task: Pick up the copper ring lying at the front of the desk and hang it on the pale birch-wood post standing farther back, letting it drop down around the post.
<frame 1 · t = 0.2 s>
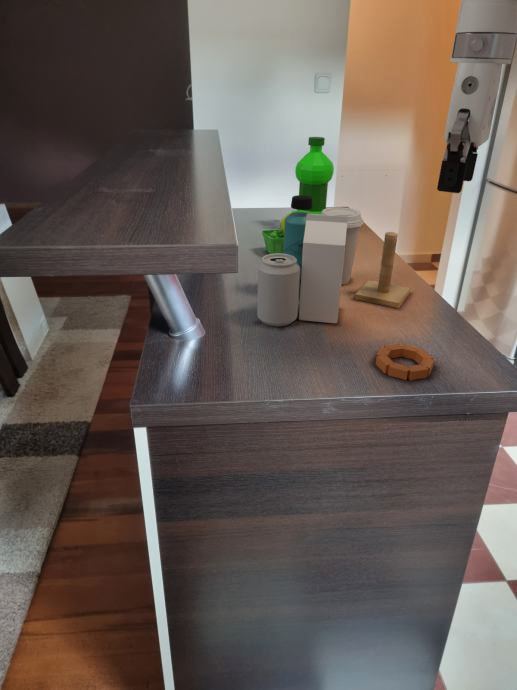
hand: (455, 185, 75), 27 cm above the worktop, tool pointing down, fingers open, 9 cm apart
coffee cup: (334, 280, 114), on the worktop
plastic bottle: (310, 231, 148), on the worktop
beverage bottle: (296, 294, 107), on the worktop
post: (382, 296, 106), on the worktop
can: (277, 320, 96), on the worktop
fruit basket: (287, 253, 130), on the worktop
milk carton: (319, 315, 98), on the worktop
ring: (403, 365, 82), on the worktop
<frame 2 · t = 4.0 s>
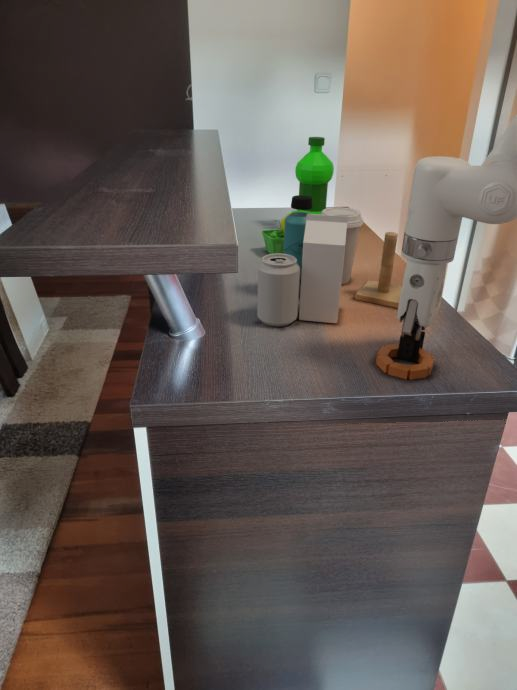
hand: (409, 354, 84), 0 cm above the worktop, tool pointing down, fingers closed on ring, 2 cm apart
ring: (404, 365, 82), on the worktop, touching gripper
everything else where it was.
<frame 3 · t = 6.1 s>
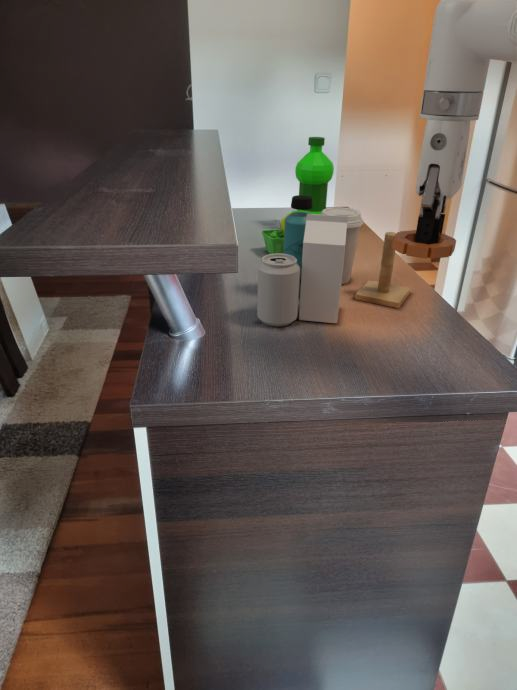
hand: (427, 240, 77), 19 cm above the worktop, tool pointing down, fingers closed on ring
ring: (422, 249, 74), point 19 cm above the worktop, touching gripper
everything else where it was.
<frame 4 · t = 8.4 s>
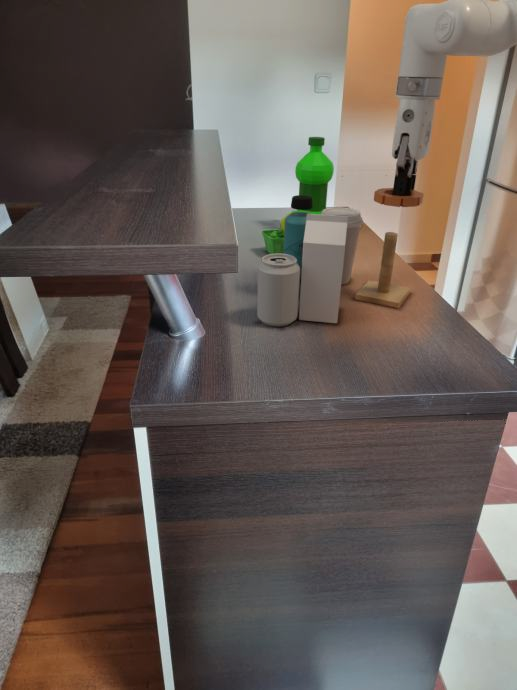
hand: (402, 196, 98), 20 cm above the worktop, tool pointing down, fingers closed on ring
ring: (397, 201, 95), point 20 cm above the worktop, touching gripper
everything else where it was.
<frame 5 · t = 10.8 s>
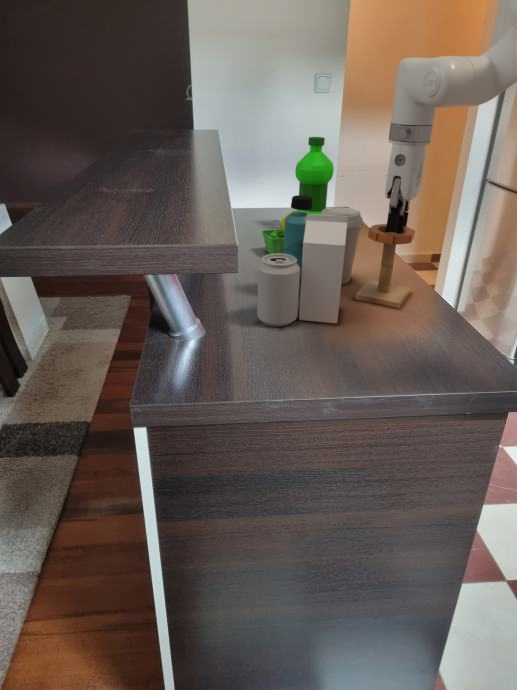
hand: (395, 232, 103), 13 cm above the worktop, tool pointing down, fingers closed on ring
ring: (390, 237, 101), point 12 cm above the worktop, touching gripper
everything else where it was.
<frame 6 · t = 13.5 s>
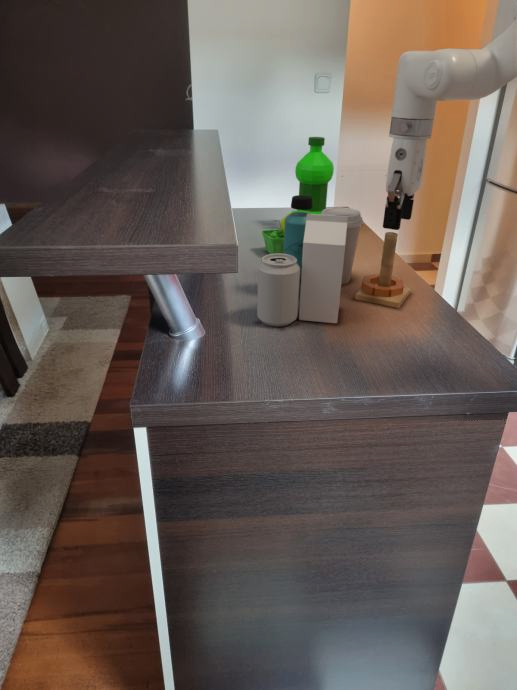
hand: (397, 223, 102), 15 cm above the worktop, tool pointing down, fingers open, 8 cm apart
ring: (381, 288, 107), point 1 cm above the worktop, touching post
everything else where it was.
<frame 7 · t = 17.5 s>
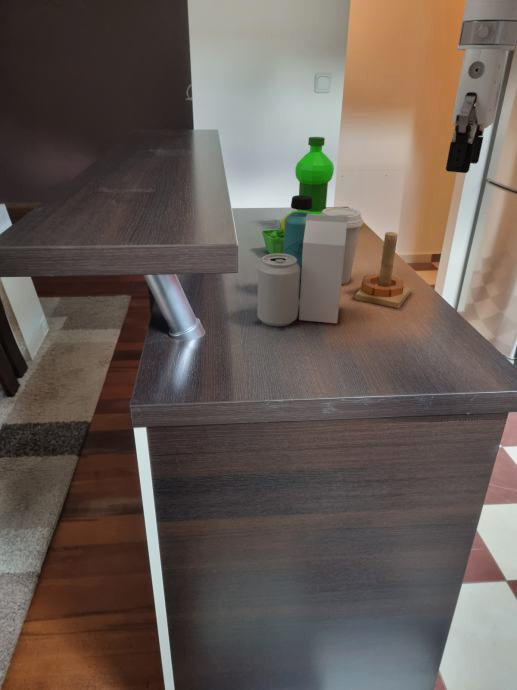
hand: (462, 167, 79), 28 cm above the worktop, tool pointing down, fingers open, 9 cm apart
nothing on the worktop moved.
at the end: ring 1.0 cm from the post (horizontally); ring point 1.2 cm above the worktop; the gripper is holding nothing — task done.
